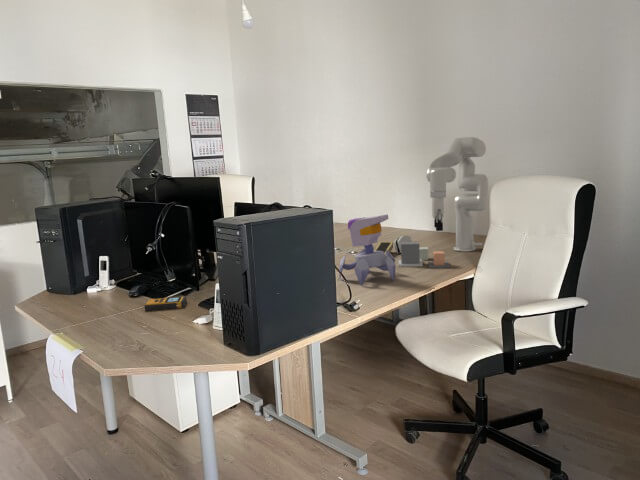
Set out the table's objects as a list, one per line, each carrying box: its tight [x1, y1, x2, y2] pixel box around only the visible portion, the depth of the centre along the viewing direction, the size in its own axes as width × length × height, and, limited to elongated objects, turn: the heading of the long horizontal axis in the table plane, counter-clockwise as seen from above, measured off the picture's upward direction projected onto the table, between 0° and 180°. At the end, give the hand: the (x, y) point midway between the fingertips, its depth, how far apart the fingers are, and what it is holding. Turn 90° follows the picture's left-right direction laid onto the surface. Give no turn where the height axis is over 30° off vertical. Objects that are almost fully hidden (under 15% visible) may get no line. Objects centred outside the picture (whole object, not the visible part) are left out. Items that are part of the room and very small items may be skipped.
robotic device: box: [338, 214, 397, 287], centre depth 226 cm, size 26×25×30 cm
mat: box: [427, 261, 451, 269], centre depth 245 cm, size 10×10×1 cm
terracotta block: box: [433, 250, 446, 265], centre depth 245 cm, size 5×5×6 cm
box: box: [374, 241, 394, 259], centre depth 272 cm, size 8×22×5 cm, turn 160°
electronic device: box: [144, 296, 188, 312], centre depth 203 cm, size 8×16×3 cm, turn 97°
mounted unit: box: [397, 241, 424, 268], centre depth 250 cm, size 12×10×11 cm
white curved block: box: [393, 235, 413, 255], centre depth 282 cm, size 17×5×10 cm, turn 145°
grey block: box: [419, 246, 429, 261], centre depth 260 cm, size 5×5×6 cm
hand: (438, 228), depth 243 cm, fingers open, 9 cm apart
